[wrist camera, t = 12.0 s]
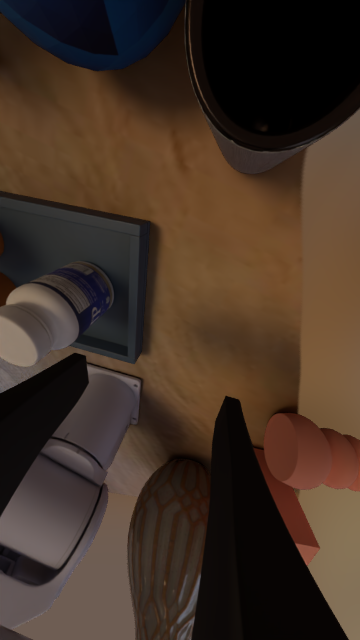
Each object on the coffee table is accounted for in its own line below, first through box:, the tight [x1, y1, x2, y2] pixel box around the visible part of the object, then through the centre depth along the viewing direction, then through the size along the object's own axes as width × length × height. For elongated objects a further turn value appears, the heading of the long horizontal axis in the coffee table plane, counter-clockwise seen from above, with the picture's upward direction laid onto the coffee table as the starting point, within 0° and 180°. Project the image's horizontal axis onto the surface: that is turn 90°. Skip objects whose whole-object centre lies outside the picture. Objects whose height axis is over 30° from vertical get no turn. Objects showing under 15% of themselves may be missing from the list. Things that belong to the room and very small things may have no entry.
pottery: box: [254, 413, 360, 566], centre depth 24 cm, size 18×10×10 cm
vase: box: [127, 459, 211, 640], centre depth 28 cm, size 13×13×18 cm
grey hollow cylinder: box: [185, 0, 360, 174], centre depth 8 cm, size 4×4×10 cm
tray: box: [0, 191, 150, 364], centre depth 21 cm, size 14×21×2 cm, turn 81°
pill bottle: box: [0, 261, 114, 367], centre depth 17 cm, size 5×5×9 cm
